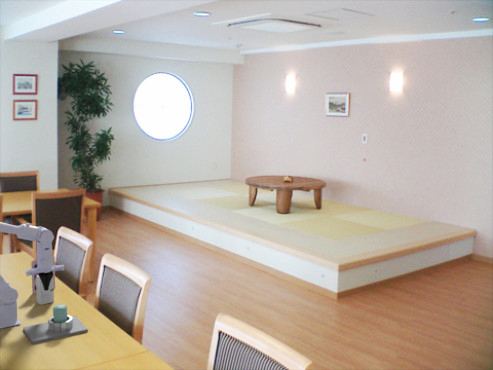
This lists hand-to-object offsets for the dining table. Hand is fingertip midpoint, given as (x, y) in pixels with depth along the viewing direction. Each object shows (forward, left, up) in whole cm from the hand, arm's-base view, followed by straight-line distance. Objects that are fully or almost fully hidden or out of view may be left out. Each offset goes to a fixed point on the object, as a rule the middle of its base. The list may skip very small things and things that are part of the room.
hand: (46, 289), depth 213 cm
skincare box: (+3, +13, -11) cm, 17 cm away
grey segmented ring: (+1, -18, -9) cm, 20 cm away
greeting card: (+5, +30, -11) cm, 33 cm away
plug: (+1, -18, -9) cm, 20 cm away
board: (-1, -18, -10) cm, 20 cm away
